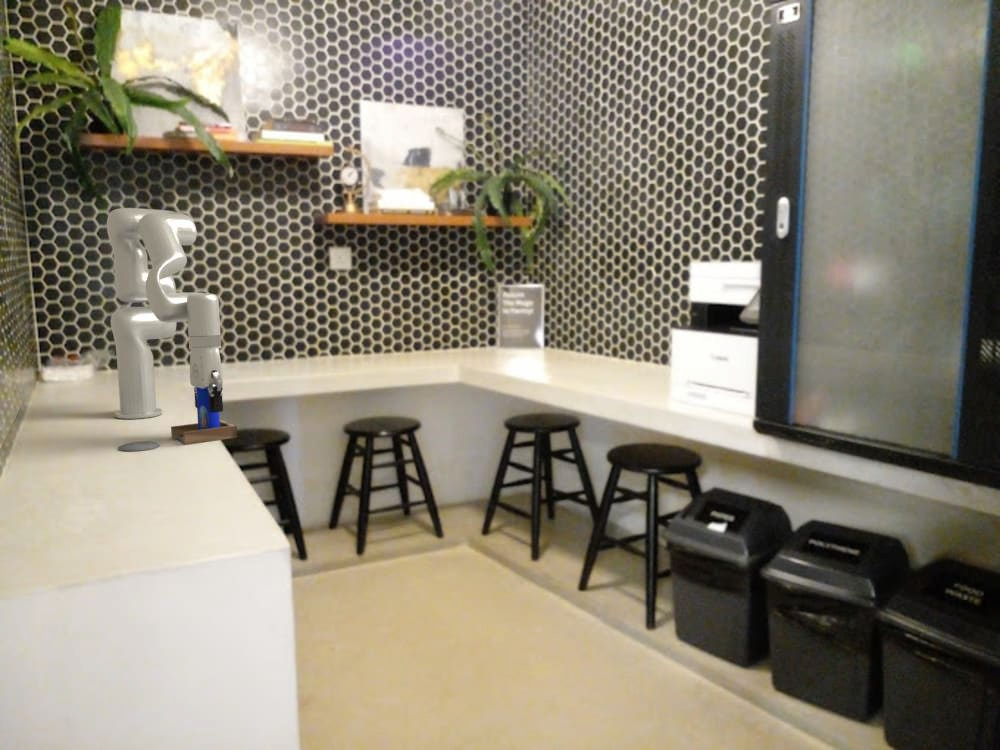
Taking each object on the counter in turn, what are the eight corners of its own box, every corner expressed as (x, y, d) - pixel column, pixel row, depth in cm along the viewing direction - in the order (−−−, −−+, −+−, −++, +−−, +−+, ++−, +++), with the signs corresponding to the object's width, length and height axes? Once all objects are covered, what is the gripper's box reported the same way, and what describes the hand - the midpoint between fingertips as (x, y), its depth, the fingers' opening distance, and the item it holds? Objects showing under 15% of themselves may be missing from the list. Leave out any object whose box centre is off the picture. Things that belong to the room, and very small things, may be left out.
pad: (113, 446, 182) (113, 444, 182) (152, 441, 188) (152, 439, 188) (124, 453, 175) (124, 451, 175) (164, 447, 181) (164, 445, 181)
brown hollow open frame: (171, 438, 191) (170, 426, 191) (222, 431, 200) (221, 420, 199) (185, 444, 184) (184, 432, 183) (237, 437, 192) (236, 425, 192)
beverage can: (194, 437, 192) (191, 379, 190) (213, 434, 196) (210, 377, 194) (205, 440, 189) (202, 381, 187) (224, 436, 193) (221, 379, 191)
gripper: (177, 341, 193) (182, 407, 195) (202, 345, 180) (206, 416, 182) (207, 339, 198) (211, 403, 200) (233, 343, 185) (237, 412, 187)
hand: (209, 409), depth 191 cm, fingers open, 9 cm apart
